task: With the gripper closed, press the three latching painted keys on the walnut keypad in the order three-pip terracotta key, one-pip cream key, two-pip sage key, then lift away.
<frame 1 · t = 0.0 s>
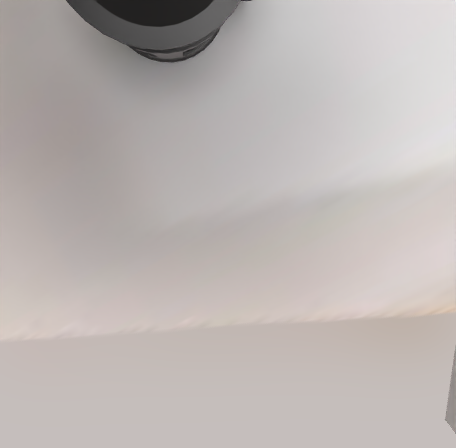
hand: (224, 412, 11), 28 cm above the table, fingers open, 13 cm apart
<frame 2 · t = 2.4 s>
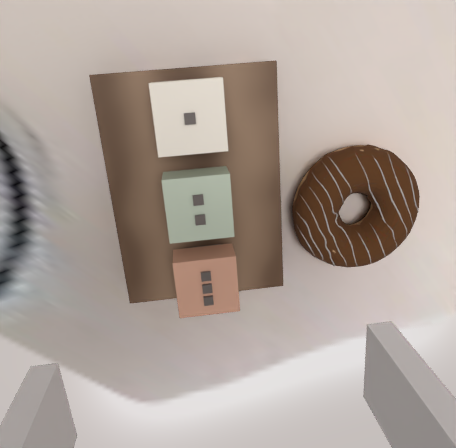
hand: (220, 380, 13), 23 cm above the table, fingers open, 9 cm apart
terracotta key: (206, 280, 31), point 6 cm above the table, slide at 0.0 cm
cream key: (189, 116, 27), point 6 cm above the table, slide at 0.0 cm
keypad: (196, 184, 34), on the table
donut: (345, 200, 37), on the table
sage key: (198, 204, 29), point 6 cm above the table, slide at 0.0 cm
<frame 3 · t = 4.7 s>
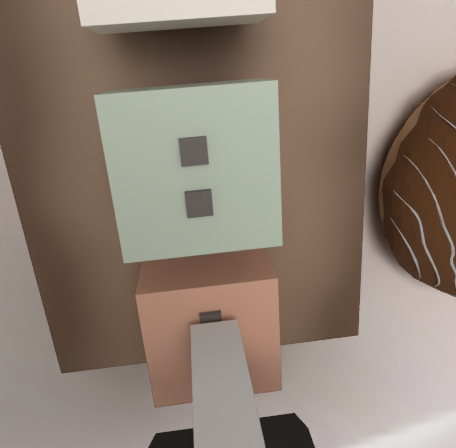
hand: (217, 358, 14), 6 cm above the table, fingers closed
terracotta key: (211, 326, 15), point 5 cm above the table, slide at 0.9 cm, touching gripper
keypad: (190, 137, 17), on the table
sage key: (195, 167, 12), point 6 cm above the table, slide at 0.0 cm
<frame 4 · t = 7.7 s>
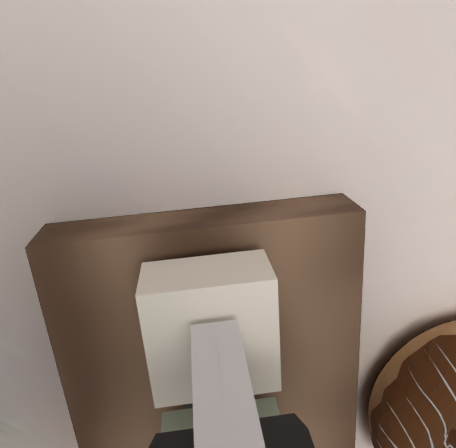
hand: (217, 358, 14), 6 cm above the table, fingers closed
cream key: (211, 327, 15), point 5 cm above the table, slide at 1.1 cm
keypad: (215, 374, 21), on the table
donut: (444, 380, 24), on the table
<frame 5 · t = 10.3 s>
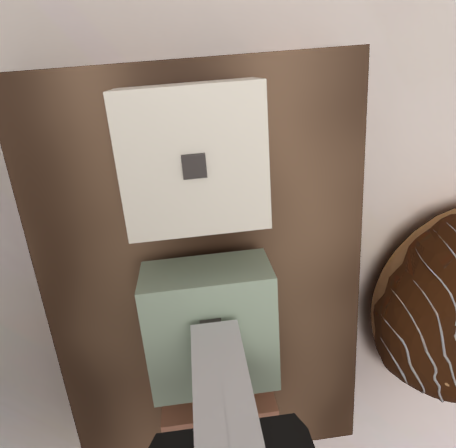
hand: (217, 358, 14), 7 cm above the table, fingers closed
terracotta key: (222, 439, 18), point 4 cm above the table, slide at 1.3 cm
cream key: (193, 158, 13), point 4 cm above the table, slide at 1.3 cm
keypad: (203, 266, 20), on the table
donut: (453, 284, 22), on the table
sage key: (210, 326, 15), point 5 cm above the table, slide at 0.8 cm, touching gripper
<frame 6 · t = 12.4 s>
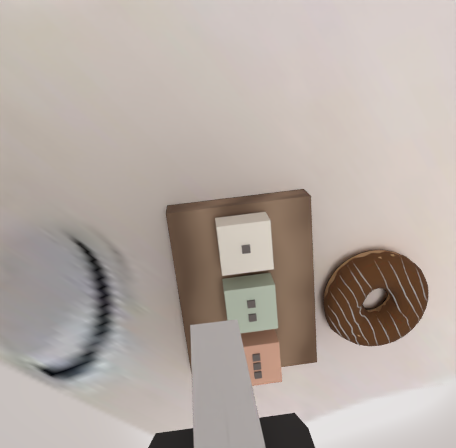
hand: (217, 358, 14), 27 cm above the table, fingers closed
terracotta key: (255, 358, 40), point 4 cm above the table, slide at 1.3 cm
cream key: (244, 243, 36), point 4 cm above the table, slide at 1.3 cm
keypad: (244, 282, 42), on the table
donut: (366, 288, 44), on the table
sage key: (250, 304, 38), point 4 cm above the table, slide at 1.3 cm
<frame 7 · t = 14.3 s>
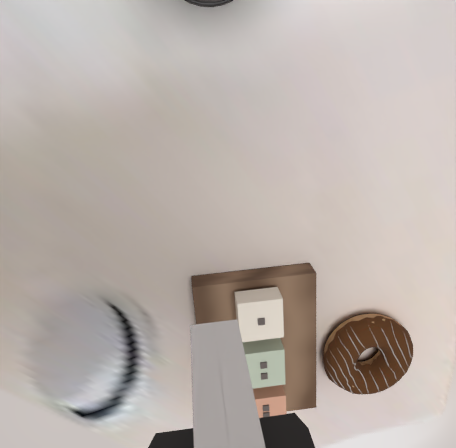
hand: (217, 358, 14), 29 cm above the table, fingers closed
terracotta key: (264, 406, 47), point 4 cm above the table, slide at 1.3 cm
cream key: (259, 314, 42), point 4 cm above the table, slide at 1.3 cm
keypad: (255, 338, 49), on the table
donut: (360, 343, 51), on the table
sage key: (261, 363, 45), point 4 cm above the table, slide at 1.3 cm
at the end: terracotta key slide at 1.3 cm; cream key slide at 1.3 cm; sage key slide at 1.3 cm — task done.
